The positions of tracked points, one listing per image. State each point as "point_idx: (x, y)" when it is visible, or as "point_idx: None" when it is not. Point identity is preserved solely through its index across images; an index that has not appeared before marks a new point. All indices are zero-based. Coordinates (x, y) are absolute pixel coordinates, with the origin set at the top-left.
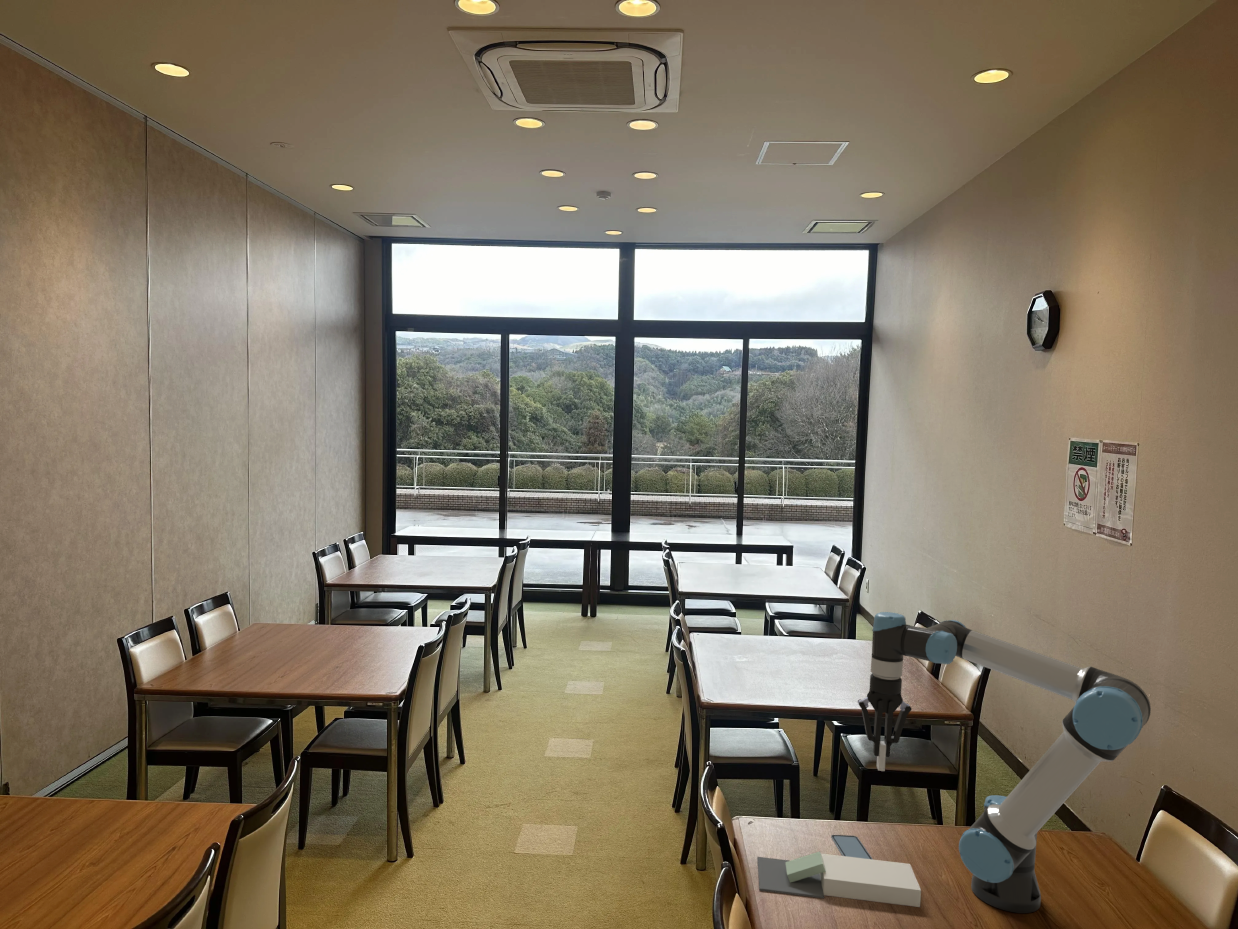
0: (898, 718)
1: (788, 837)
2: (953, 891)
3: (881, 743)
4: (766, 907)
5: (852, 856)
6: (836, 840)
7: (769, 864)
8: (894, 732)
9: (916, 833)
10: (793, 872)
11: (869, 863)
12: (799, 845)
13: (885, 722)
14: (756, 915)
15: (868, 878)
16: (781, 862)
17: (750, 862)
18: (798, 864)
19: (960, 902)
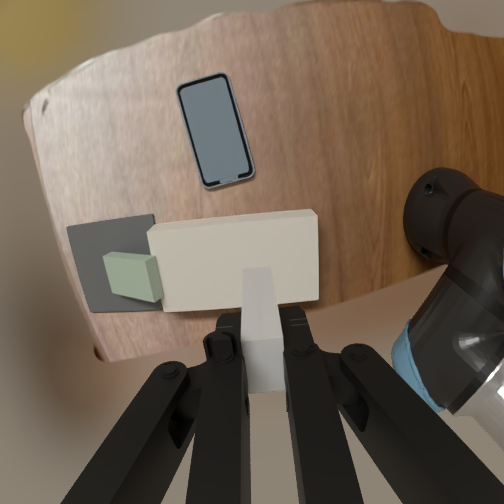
0: (427, 488)
1: (101, 128)
2: (375, 223)
3: (259, 376)
4: (109, 342)
5: (213, 164)
6: (185, 106)
7: (85, 245)
8: (366, 394)
9: (346, 29)
10: (118, 293)
11: (239, 239)
12: (119, 150)
13: (299, 469)
14: (105, 358)
15: (234, 292)
16: (98, 232)
17: (62, 241)
18: (120, 277)
19: (376, 253)
